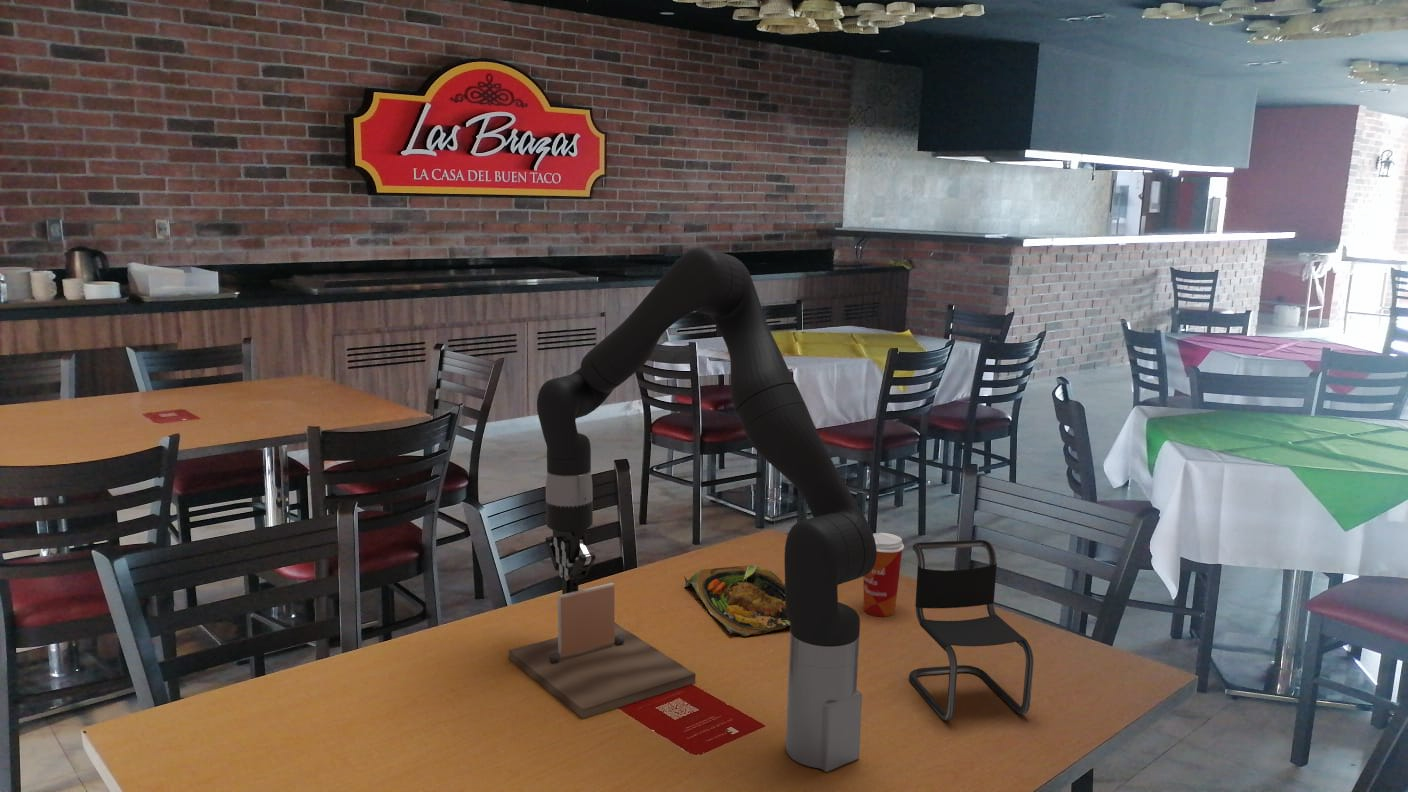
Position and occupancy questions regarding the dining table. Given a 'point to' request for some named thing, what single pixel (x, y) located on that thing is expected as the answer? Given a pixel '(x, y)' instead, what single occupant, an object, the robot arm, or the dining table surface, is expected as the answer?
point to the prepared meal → (742, 598)
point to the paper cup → (883, 576)
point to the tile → (586, 619)
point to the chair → (964, 622)
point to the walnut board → (602, 672)
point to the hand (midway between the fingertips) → (570, 599)
